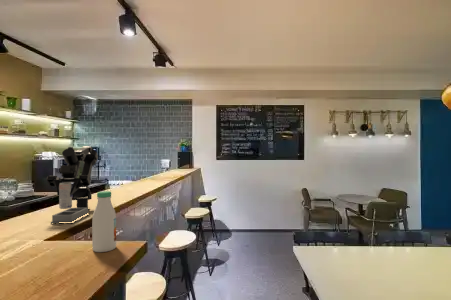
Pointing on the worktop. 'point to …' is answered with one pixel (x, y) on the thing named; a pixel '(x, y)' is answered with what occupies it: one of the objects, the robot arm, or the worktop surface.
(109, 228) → the milk bottle
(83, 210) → the drink carrier
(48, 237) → the worktop surface
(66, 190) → the energy drink
